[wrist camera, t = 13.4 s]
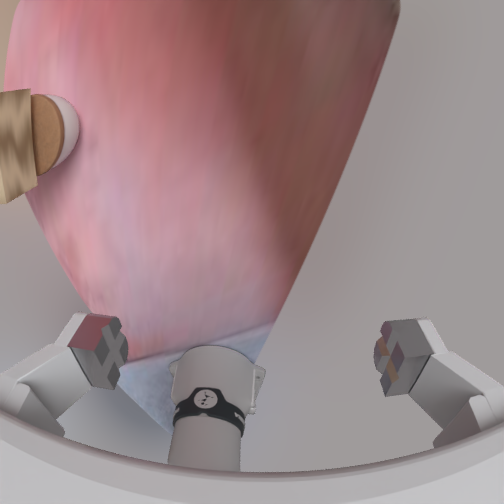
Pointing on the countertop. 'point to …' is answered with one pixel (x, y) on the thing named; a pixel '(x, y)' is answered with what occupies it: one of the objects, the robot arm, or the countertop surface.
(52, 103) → the lidded jar
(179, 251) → the countertop surface
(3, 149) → the beech block
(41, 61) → the countertop surface
